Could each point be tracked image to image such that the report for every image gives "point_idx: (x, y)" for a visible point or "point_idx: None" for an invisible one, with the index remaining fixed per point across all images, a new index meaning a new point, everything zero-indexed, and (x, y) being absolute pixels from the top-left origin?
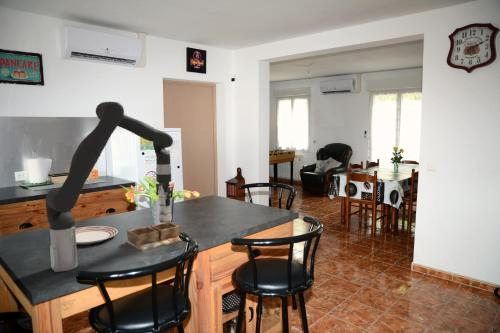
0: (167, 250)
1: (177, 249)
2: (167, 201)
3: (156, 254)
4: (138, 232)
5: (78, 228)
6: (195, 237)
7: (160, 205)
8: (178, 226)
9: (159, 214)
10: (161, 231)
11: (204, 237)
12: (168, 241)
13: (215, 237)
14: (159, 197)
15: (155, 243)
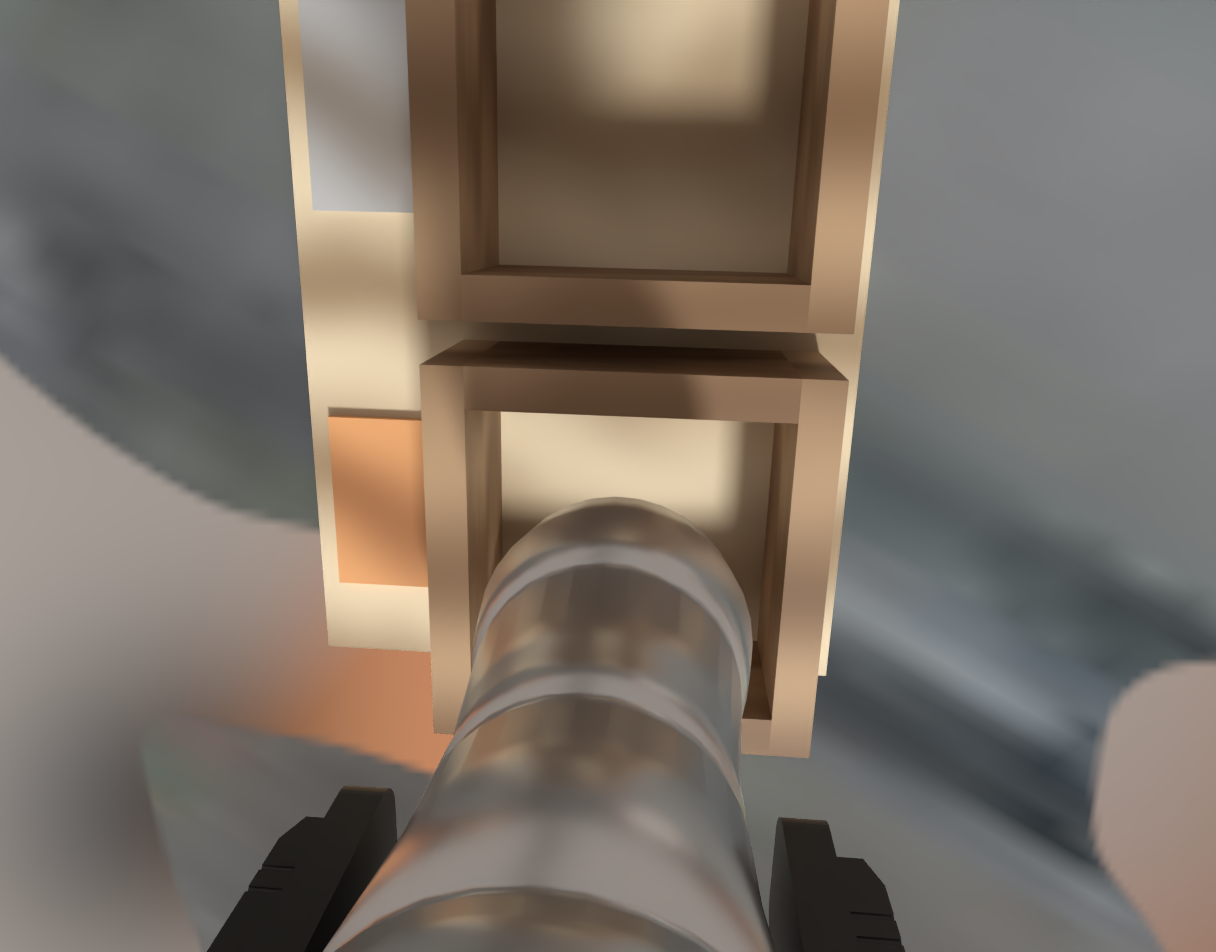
0: (107, 222)
1: (70, 344)
2: (231, 917)
3: (42, 13)
4: (817, 89)
5: None
6: (356, 760)
7: (555, 705)
8: (450, 703)
9: (642, 568)
10: (425, 372)
11: (285, 828)
12: (349, 391)
13: (206, 904)
14: (496, 899)
15: (361, 184)
